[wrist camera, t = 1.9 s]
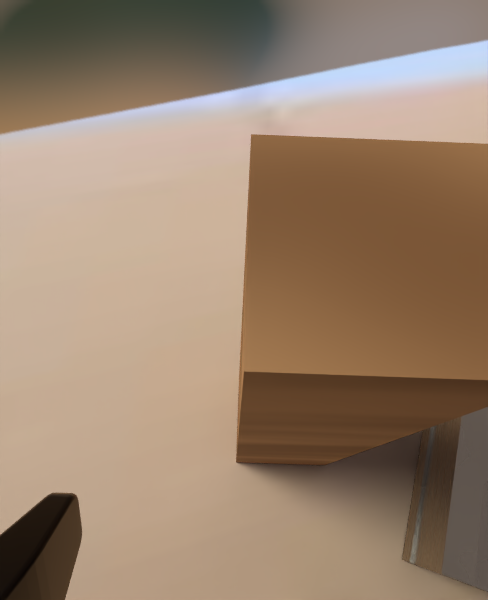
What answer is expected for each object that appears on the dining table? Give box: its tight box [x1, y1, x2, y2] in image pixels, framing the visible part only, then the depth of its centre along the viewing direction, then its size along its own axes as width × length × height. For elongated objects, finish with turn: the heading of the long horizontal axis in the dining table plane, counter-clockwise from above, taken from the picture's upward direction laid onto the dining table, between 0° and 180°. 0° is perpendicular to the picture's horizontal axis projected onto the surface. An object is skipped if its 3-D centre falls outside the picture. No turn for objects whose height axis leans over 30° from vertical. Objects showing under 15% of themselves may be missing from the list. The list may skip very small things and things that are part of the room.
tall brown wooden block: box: [236, 134, 488, 465], centre depth 12 cm, size 4×4×14 cm
